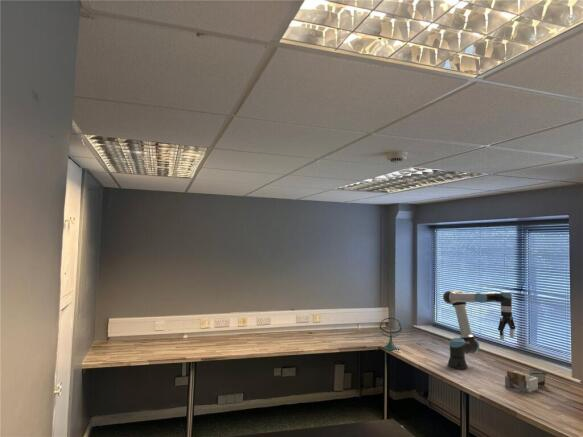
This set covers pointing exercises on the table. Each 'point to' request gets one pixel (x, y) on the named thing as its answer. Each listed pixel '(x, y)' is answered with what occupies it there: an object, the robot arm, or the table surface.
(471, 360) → the table surface
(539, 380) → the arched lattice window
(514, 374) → the door
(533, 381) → the carcass
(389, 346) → the armillary sphere
